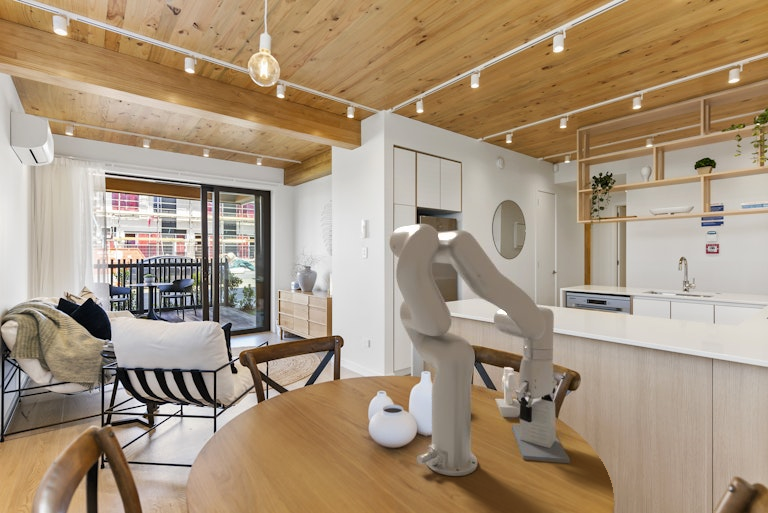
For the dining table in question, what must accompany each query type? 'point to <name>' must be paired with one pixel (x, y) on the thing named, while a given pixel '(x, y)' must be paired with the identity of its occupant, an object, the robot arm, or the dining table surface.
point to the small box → (540, 424)
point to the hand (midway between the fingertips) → (536, 416)
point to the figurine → (508, 395)
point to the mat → (540, 450)
